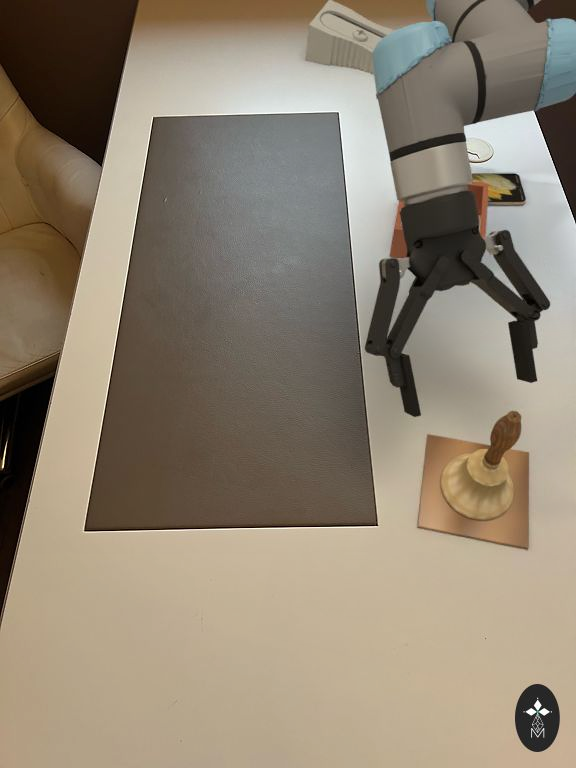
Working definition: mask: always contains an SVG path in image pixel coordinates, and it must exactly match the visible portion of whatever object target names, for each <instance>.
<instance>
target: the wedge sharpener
mask: <svg viewBox="0 0 576 768" xmlns="http://www.w3.org/2000/svg"><path fill="white" fill-rule="evenodd" d="M396 30H397V29H393V28H389V27H388V26H383V25H382V24H378V23H377V22H373V21H372V20H371V19H370V20H369V19H367V17H363V15H362V14H359V13H358V12H356V11H355V10H354V9H351V8H349V7H348V6H345V5H343V4H341V3H338V2H336V1H334V0H328V1H327V2H326V3H325V4H324V6H322V8H321V9H320V10H319V11H318V13H317V14H316V16H315V17H314V18H313V19H312V21H310V23H309V24H308V31H307V33H308V34H307V41H306V51H305V61H306V60H308V61H307V62H312V63H316V64H321V65H326V66H335V67H336V66H338V67H345V68H350V69H355V70H360V71H364V72H365V73H369V72H370V73H371V75H374V69H373V61H372V54H373V50H374V49H375V47H376V45H377V43H378V42H379V41H380V40H381V39H382V38H384V37H385V36H387V35H388V34H390V33H392V32H394V31H396ZM370 73H369V74H370Z"/></svg>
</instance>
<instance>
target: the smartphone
mask: <svg viewBox="0 0 576 768" xmlns="http://www.w3.org/2000/svg"><path fill="white" fill-rule="evenodd" d="M471 173H472V172H471ZM472 178H473V181H472V182H480V183H488V184H489V187H488V204H487V205H524V204H525V203H526V201H527V197H526V194H525V189H524V186H523V184H522V180H521V177H520V175H519V174H518V173H515V172H507V173H506V172H500V173H499V172H496V173H495V172H492V173H489V172H488V173H487V172H485V173H483V172H482V173H479V172H478V173H476V172H475V173H472Z"/></svg>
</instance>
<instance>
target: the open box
mask: <svg viewBox="0 0 576 768" xmlns="http://www.w3.org/2000/svg"><path fill="white" fill-rule="evenodd" d="M488 187H489V184H488V183H480V182H472V183H471V184H470V185H467V188H468V191H472V193H475V198H476V204H477V210H478V216H479V232H480V235H481V236H482V238H484V237H486V236H487V235H486V233H487V218H488V205H489V204H488ZM403 207H405V205H404V201H402V202H400V201H398V205H397V209H396V214H395V215H396V216H395V221H394V227H393V232H392V238H391V243H390V249H389V250H390V251H389V258H396V259H399V258H406V254H407V246H406V243H405V239H404V234H403V228H402V223H401V218H400V211H401V208H403Z"/></svg>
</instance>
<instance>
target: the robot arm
mask: <svg viewBox="0 0 576 768" xmlns="http://www.w3.org/2000/svg"><path fill="white" fill-rule="evenodd" d="M540 2H542V0H425V3H426V4H425V6H426V10H427V12H428V16H429V18H430V19H431V21H429V22H427V21H421V22H417V23H412V24H409V25H406V26H403V27H400V28H398V29H395V30H396V31H394V32H392V33H390V34H388V35H387V36H385V37H384V38H382V39H381V40H380V41H379V42H378V43H377V45H376V47H375V49H374V50H373V54H372V61H373V69H374V74H373V77H374V84H375V85H374V86H375V92H376V93H375V97H376V100H377V103H378V107H379V111H380V117H381V121H382V125H383V130H384V131H383V132H384V136H385V140H386V145H387V146H386V147H387V151H388V155H389V161H390V169H391V174H392V178H393V179H392V180H393V184H394V189H395V195H396V200H397V201H398V202H399V201H400V202H402V201H404V207H403V208H401V211H400V218H401V226H402V228H403V234H404V239H405V243H406V246H407V254H406V258H396V257H388V258H383V259H381V260H380V261H379V263H378V268H379V269H378V270H379V280H380V282H379V286H378V290H377V295H376V299H375V303H374V307H373V311H372V316H371V319H370V323H369V328H368V332H367V336H366V341H365V344H364V351H365V353H367V354H369V355H373V356H375V357H383V358H384V360H385V364H386V369H387V374H388V379H389V383H390V384H391V386H392V387H394V388H397V389H399V392H400V397H401V401H402V407H403V411H404V413H405V414H407V415H409V416H411V417H413V418H417V417H420V416H422V412H421V408H420V402H419V395H418V392H417V391H418V390H417V388H416V381H415V376H414V371H413V366H412V361H411V360H412V359H411V356H410V354H407V353H404V349H405V347H406V345H407V344H408V341H409V339H410V337H411V335H412V333H413V331H414V329H415V327H416V325H417V323H418V321H419V319H420V317H421V315H422V313H423V311H424V309H425V307H426V305H427V303H428V301H429V300H430V299H431V298H432V297H433V296H434V294H435V292H444V291H448V290H451V289H452V288H454V287H456V286H458V287H463V286H464V287H465V286H467V285H470V283H471V284H474V285H475V286H477V288H479V289H480V291H482V292H484V293H485V294H486V295H487V296H488V297H490V298H491V299H492V300H493V301H494V302H495V303H497V304H498V305H499V306H500V307H501V308H502V309H504V310H505V311H506V312H507V313H508V314H510V315H511V316H512V317H513V318H514V319H516V320H512V321H508V322H507V325H508V331H509V337H510V343H511V349H512V350H511V351H512V356H513V362H514V369H515V376H516V380H518V381H522V382H526V383H529V384H532V383H536V382H538V376H537V369H536V364H535V363H536V362H535V357H534V351H533V350H535V349H537V348H538V344H539V342H538V335H537V334H538V333H537V327H536V322H537V321H538V320H539V319H540V318H541V313H542V312H543V311H547V310H549V309H550V307H551V300H550V299H549V298H548V297H547V295H546V293H545V292H544V291H543V289H542V288H541V286H540V285H539V283H538V282H537V280H536V279H535V277H534V276H533V274H532V273H531V272H530V270H529V268H528V267H527V266H526V264H525V263H524V261H523V259H522V258H521V256H520V255H519V253H518V252H517V251H516V250H515V246H514V242H513V238H512V234H511V232H510V231H509V230H508V229H502V230H497V231H491V232H490V233H488V235H486V237H484V238H482V236H481V235H480V232H479V216H478V210H477V204H476V198H475V193H472V191H468V188H467V185H470V184H471V183H472V181H473V178H472V168H471V164H470V157H469V151H468V146H467V145H468V144H467V137H466V132H465V126H467V127H468V126H470V125H476V124H477V123H478V124H479V123H482V122H486V121H491V120H495V119H500V118H505V117H509V116H514V115H518V114H519V115H520V114H523V113H529V112H537V111H540V109H542V108H545V107H549V106H552V105H555V104H559V103H563V102H565V101H567V100H570V99H571V98H572V97H573V96H575V94H576V20H574V19H572V18H566V17H561V18H554V19H552V18H546V19H545V20H544V21H542V22H536V21H535V20H534V18H533V17H531V15H530V14H529V13H528V11H530V10H531V9H532V8H533V7H534V6H536V5H537V4H538V3H540ZM486 251H487V253H488V254H489V255H492V257H493V258H494V260H495V262H496V263H497V265H498V267H499V268H500V269H501V271H502V272H503V274H504V275H505V276H506V278H507V279H508V281H509V282H510V284H511V285H512V287H513V288H514V289H515V292H517V293H515V292H514V291H513V290H512V289H511V288H510V287H509V286H507V285H506V284H505V283H504V282H503V281H501V280H500V279H499V278H498V277H497V276H496V275H495V273H494V271H492V269H490V268H489V267H488V266H486V264H484V263H483V262H482V260H483V257H484V255H485V252H486ZM406 270H408V271H409V272H410V273H411V274H412V275H413V276H414V279H413V281H412V283H411V285H410V287H409V289H408V295H407V297H406V299H405V301H404V303H403V305H402V307H401V309H400V311H399V313H398V315H397V317H396V319H395V321H394V323H393V325H392V327H391V323H392V319H393V314H394V311H395V308H396V307H395V306H396V303H397V300H398V299H397V298H398V294H399V290H400V287H401V279H403V278H404V277H405V273H406ZM517 294H518V295H517ZM390 327H391V329H390Z"/></svg>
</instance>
